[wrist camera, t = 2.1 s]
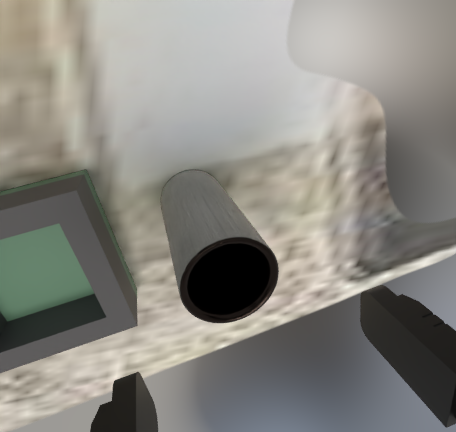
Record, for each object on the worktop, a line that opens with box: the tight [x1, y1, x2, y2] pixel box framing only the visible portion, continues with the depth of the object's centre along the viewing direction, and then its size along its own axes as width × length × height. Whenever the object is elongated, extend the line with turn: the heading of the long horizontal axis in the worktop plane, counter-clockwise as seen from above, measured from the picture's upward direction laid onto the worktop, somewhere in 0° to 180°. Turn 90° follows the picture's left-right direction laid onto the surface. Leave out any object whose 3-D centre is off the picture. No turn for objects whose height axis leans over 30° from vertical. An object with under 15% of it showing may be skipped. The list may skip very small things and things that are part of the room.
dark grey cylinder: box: [161, 170, 279, 323], centre depth 18 cm, size 4×4×10 cm
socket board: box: [0, 170, 137, 373], centre depth 20 cm, size 10×10×4 cm
